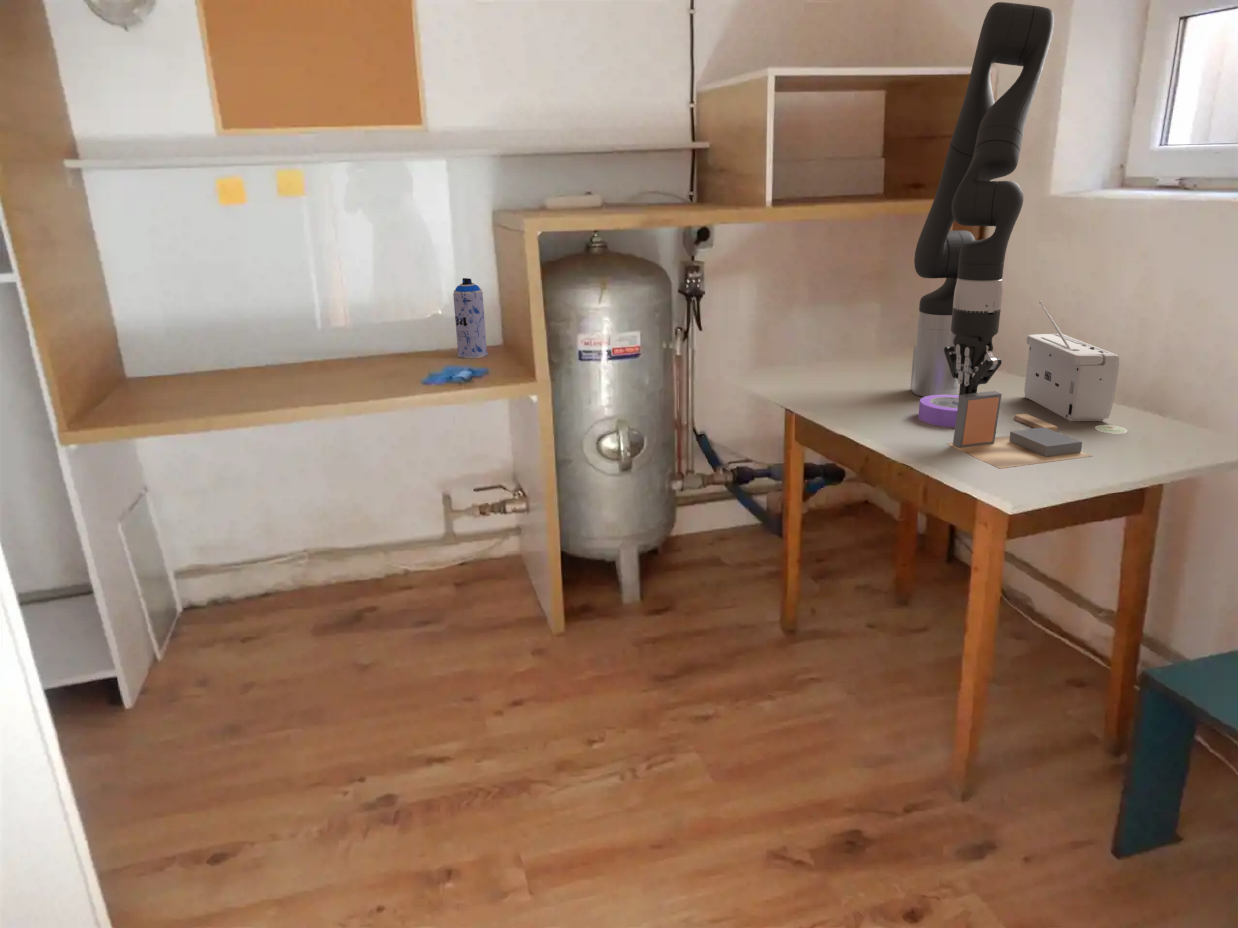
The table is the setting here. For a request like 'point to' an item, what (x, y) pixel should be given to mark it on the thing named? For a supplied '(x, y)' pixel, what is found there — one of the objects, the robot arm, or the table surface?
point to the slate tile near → (976, 419)
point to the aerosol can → (470, 320)
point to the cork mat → (1012, 454)
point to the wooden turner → (1034, 422)
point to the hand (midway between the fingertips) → (966, 405)
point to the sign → (1111, 429)
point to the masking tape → (939, 410)
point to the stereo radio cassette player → (1070, 376)
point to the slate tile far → (1045, 441)
